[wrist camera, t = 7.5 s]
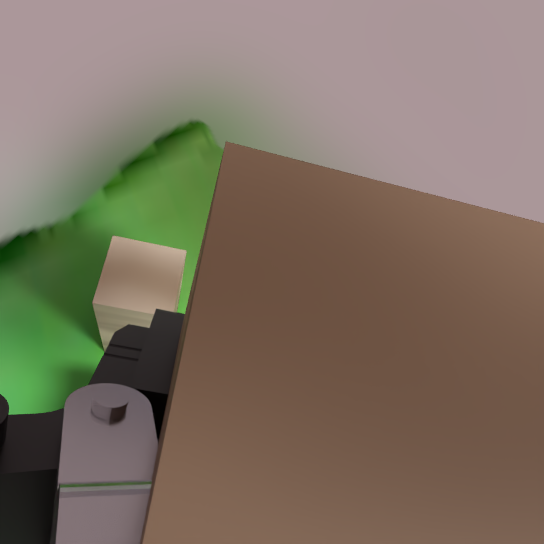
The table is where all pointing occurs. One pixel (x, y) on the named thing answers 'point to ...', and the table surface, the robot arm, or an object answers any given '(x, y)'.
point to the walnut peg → (353, 368)
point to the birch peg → (136, 284)
